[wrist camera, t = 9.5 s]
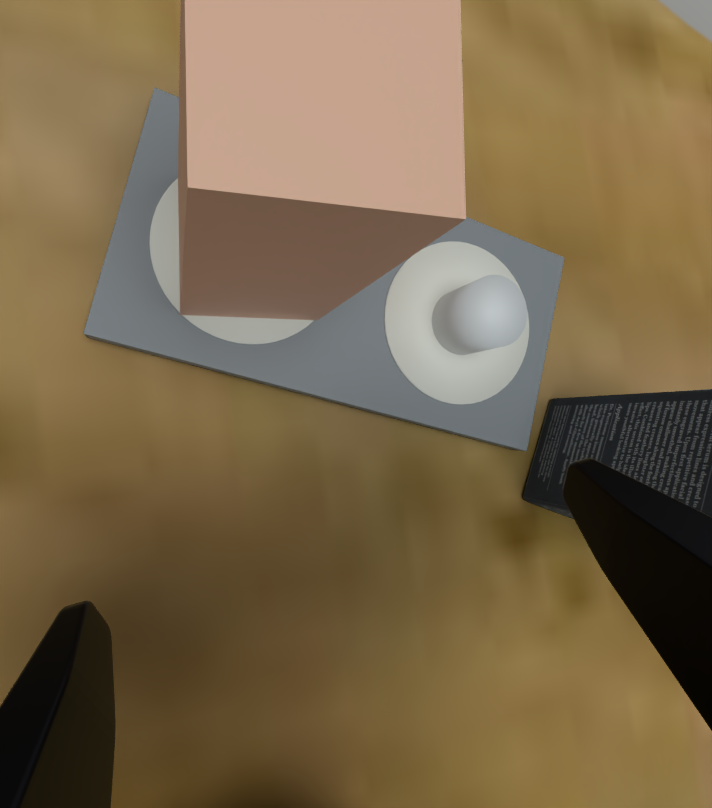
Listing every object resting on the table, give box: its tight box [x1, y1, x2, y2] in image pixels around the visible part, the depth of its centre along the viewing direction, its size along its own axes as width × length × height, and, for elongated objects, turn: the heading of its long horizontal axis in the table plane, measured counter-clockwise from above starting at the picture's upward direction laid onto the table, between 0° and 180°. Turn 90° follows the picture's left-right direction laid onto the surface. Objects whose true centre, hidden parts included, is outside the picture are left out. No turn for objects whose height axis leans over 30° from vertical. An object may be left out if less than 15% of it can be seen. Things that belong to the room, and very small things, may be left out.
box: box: [523, 389, 712, 519], centre depth 23 cm, size 8×6×11 cm
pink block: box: [178, 0, 466, 320], centre depth 16 cm, size 6×6×12 cm
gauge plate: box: [83, 88, 564, 451], centre depth 22 cm, size 10×20×4 cm, turn 76°
